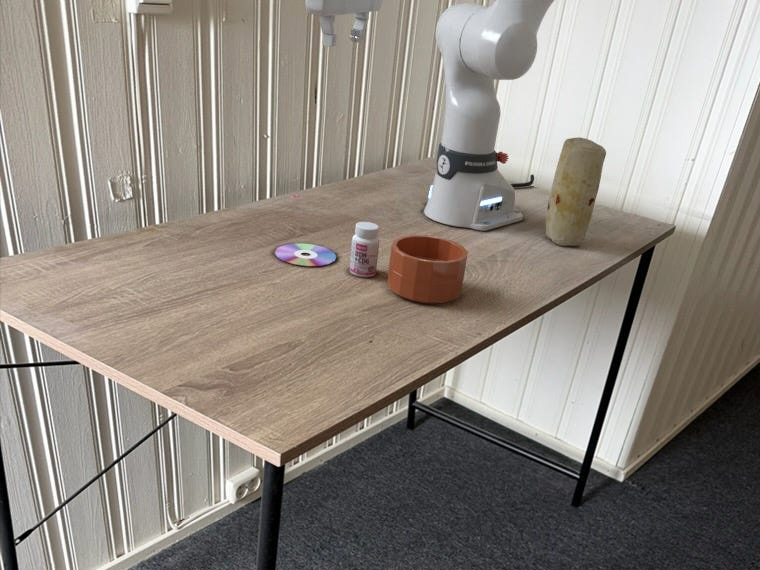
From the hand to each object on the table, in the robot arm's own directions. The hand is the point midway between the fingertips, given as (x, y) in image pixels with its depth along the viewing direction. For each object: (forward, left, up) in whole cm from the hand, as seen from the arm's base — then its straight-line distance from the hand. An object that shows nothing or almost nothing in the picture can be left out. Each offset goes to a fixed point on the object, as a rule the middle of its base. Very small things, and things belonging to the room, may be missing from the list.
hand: (343, 43), depth 140 cm
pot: (-1, +28, -33) cm, 43 cm away
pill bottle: (+4, +17, -33) cm, 38 cm away
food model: (-46, +18, -33) cm, 60 cm away
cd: (+9, +6, -33) cm, 35 cm away
